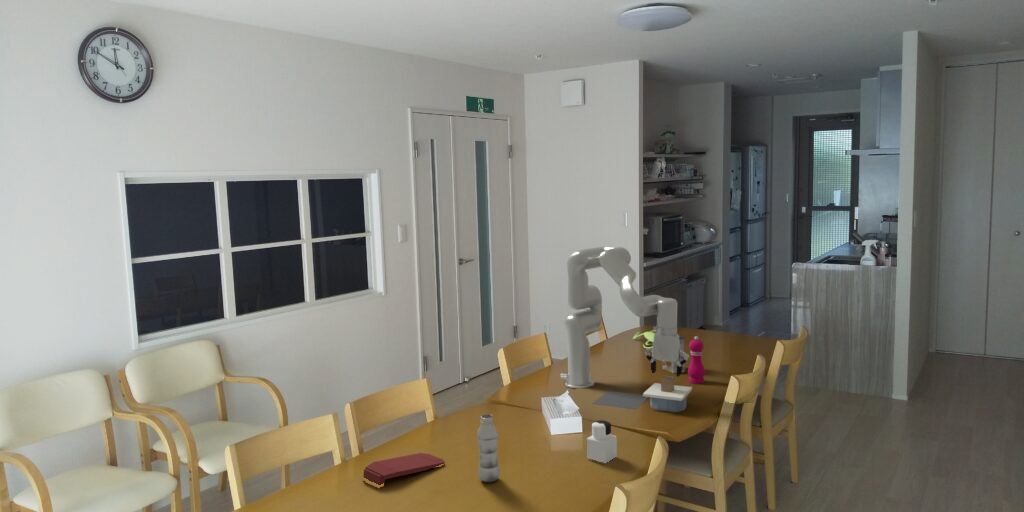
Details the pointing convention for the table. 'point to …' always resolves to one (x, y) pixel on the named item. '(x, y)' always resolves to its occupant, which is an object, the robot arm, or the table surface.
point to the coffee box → (673, 365)
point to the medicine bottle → (601, 442)
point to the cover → (667, 390)
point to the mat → (621, 400)
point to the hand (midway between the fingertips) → (666, 374)
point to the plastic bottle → (488, 449)
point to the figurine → (648, 336)
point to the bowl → (668, 404)
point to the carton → (400, 466)
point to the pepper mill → (696, 362)
